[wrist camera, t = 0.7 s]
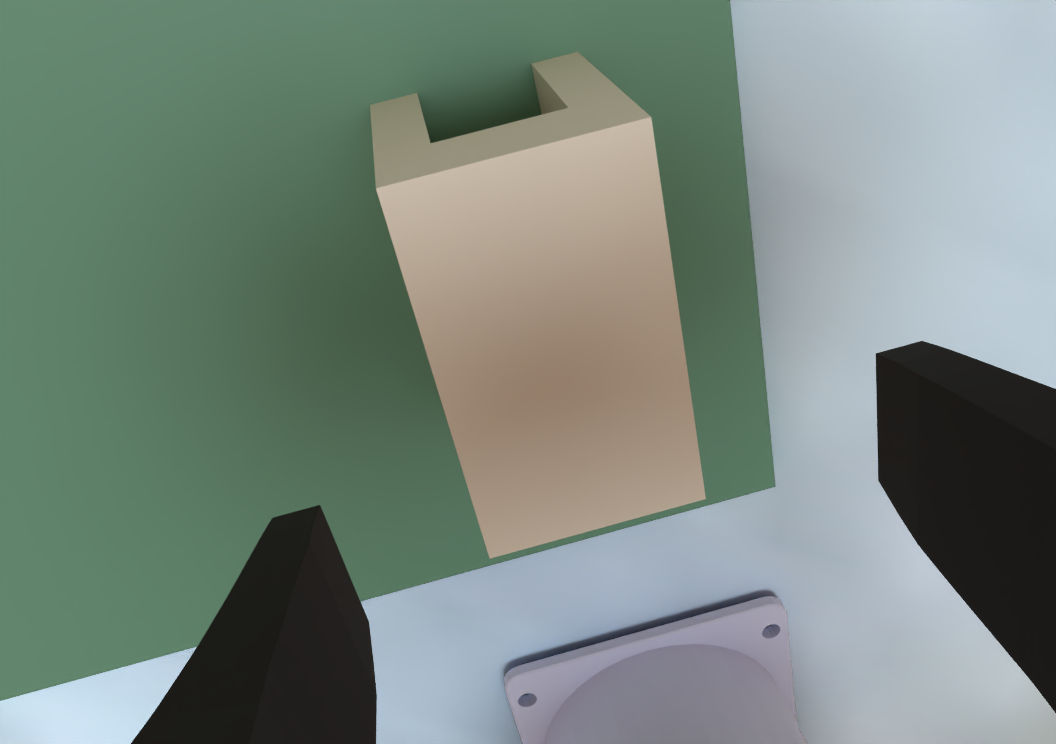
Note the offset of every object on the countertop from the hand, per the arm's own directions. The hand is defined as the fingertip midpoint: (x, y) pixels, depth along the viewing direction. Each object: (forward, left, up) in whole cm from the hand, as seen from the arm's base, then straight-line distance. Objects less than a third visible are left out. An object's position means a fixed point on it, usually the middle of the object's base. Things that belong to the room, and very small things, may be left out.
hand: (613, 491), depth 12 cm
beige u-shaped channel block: (0, 0, -8) cm, 8 cm away
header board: (+2, +7, -9) cm, 12 cm away
